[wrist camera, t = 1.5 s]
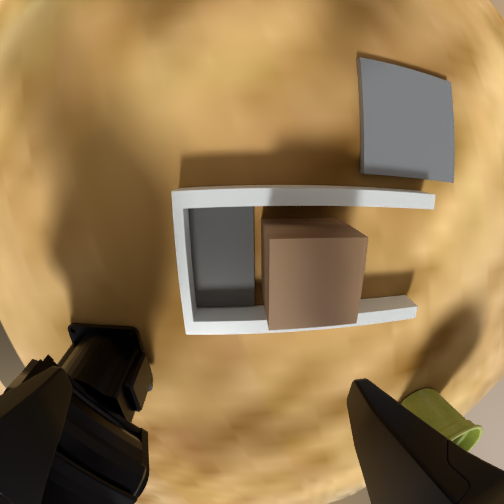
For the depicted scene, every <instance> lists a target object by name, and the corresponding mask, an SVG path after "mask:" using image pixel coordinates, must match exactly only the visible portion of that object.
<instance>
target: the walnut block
mask: <svg viewBox="0 0 504 504" xmlns="http://www.w3.org/2000/svg"><path fill="white" fill-rule="evenodd" d="M367 243H368V237H367V236H365V235H364V234H362V233H361V232H359V231H358V230H356V229H355V228H353V227H351V226H350V225H348V224H347V223H345V222H343V221H342V220H340V219H339V218H261V272H262V296H263V302H264V307H265V313H266V318H267V324H268V329H269V330H285V329H300V328H313V327H325V326H336V325H346V324H355V323H357V317H358V312H359V305H360V299H361V292H362V285H363V278H364V270H365V262H366V253H367Z"/></svg>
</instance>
